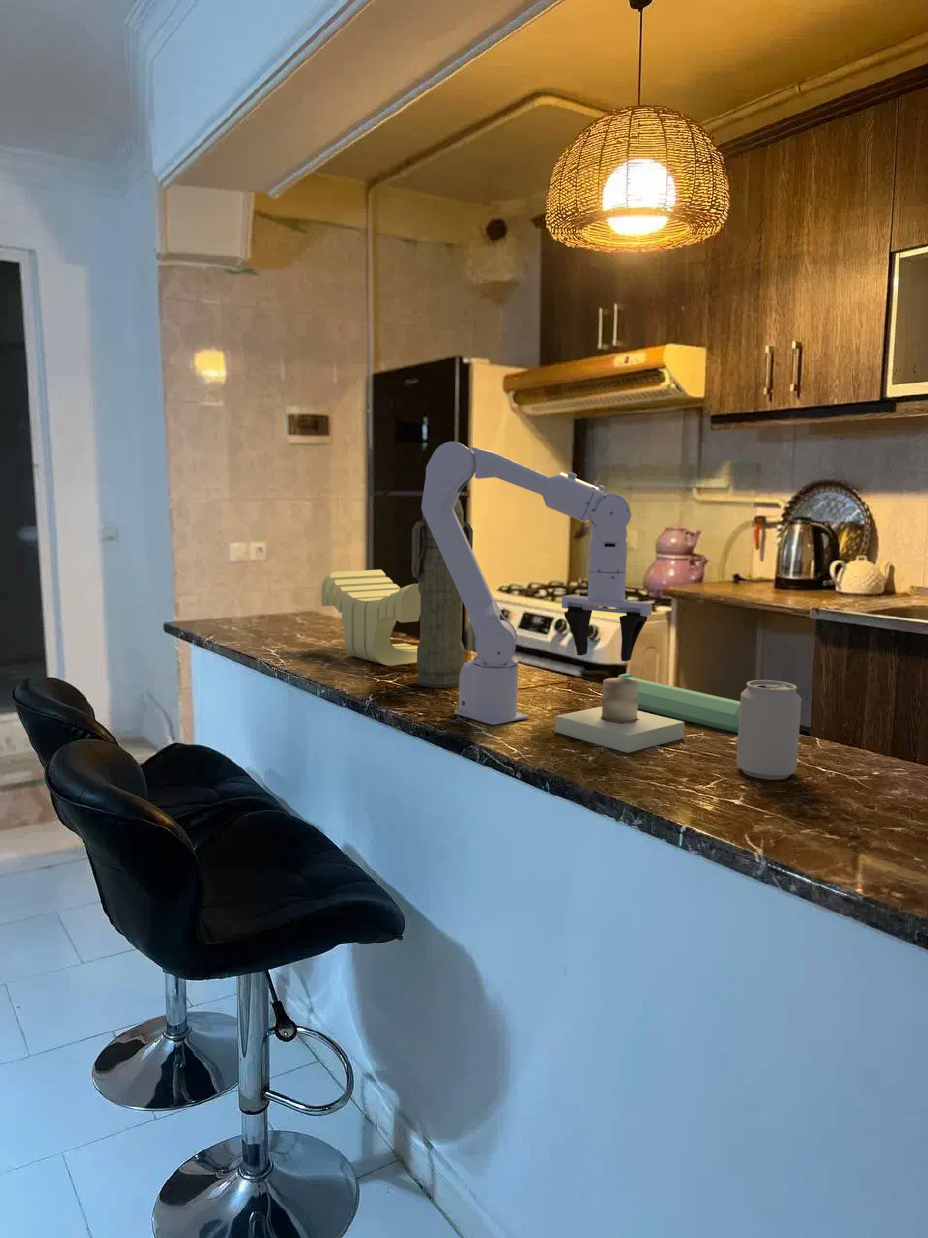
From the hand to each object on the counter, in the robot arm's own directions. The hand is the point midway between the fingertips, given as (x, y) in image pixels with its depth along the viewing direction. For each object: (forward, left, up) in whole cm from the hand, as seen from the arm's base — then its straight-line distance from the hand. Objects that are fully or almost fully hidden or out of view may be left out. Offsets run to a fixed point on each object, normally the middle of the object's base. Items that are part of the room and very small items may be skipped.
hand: (603, 657), depth 143 cm
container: (+6, +13, -11) cm, 18 cm away
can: (+31, -3, -11) cm, 33 cm away
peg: (+7, -4, -10) cm, 13 cm away
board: (+7, -4, -10) cm, 13 cm away
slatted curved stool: (-64, +5, -11) cm, 65 cm away
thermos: (-38, -2, -11) cm, 39 cm away
